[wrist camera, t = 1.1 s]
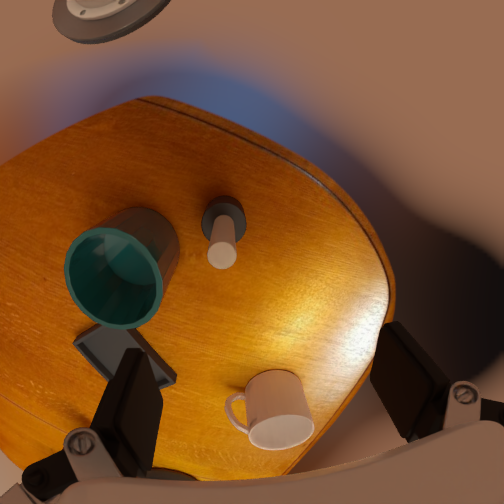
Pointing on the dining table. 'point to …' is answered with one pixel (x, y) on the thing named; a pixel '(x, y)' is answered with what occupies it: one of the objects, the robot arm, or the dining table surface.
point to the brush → (223, 230)
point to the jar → (122, 267)
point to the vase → (167, 475)
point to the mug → (274, 411)
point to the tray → (119, 352)
